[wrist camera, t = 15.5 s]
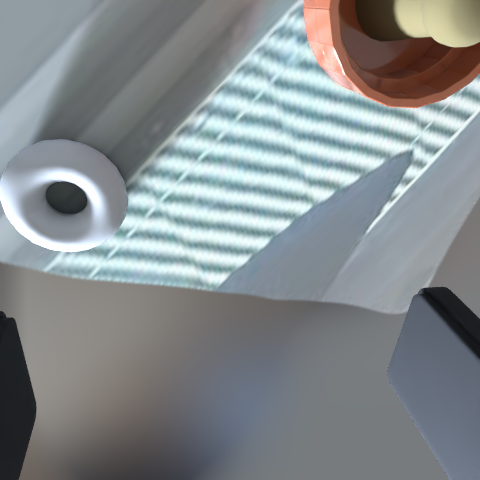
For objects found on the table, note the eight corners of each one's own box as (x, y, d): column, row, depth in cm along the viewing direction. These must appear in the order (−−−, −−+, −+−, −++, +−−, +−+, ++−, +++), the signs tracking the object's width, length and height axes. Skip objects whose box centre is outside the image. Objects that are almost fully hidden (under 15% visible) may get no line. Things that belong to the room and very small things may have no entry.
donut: (151, 203, 38) (77, 109, 33) (151, 221, 35) (71, 121, 30) (63, 256, 39) (-22, 174, 34) (56, 278, 36) (-38, 191, 31)
